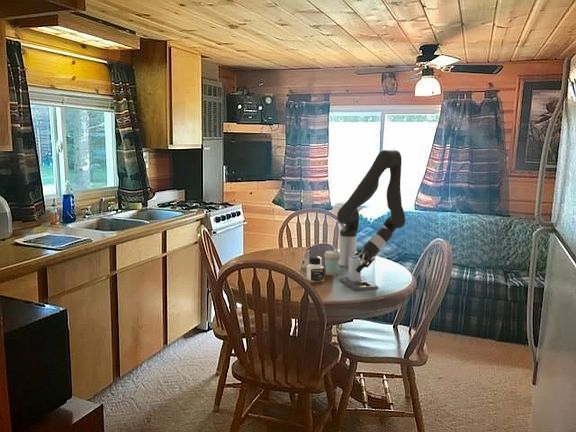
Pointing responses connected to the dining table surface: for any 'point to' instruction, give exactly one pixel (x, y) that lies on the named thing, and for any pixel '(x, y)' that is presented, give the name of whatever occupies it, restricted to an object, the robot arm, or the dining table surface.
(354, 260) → the plug
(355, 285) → the panel
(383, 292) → the dining table surface
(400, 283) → the dining table surface
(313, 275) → the medicine bottle
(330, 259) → the coffee cup
